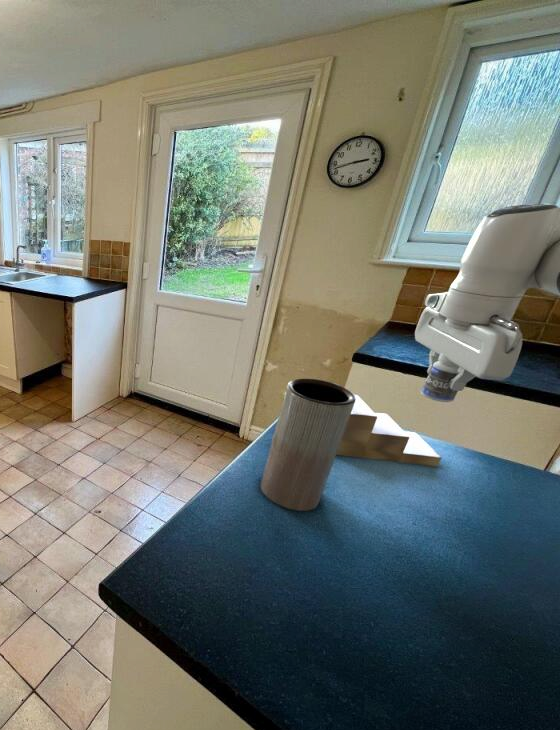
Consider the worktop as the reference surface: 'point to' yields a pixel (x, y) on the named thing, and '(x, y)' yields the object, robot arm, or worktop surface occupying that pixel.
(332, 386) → the planter
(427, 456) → the small staircase
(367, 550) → the worktop surface
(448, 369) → the pill bottle
